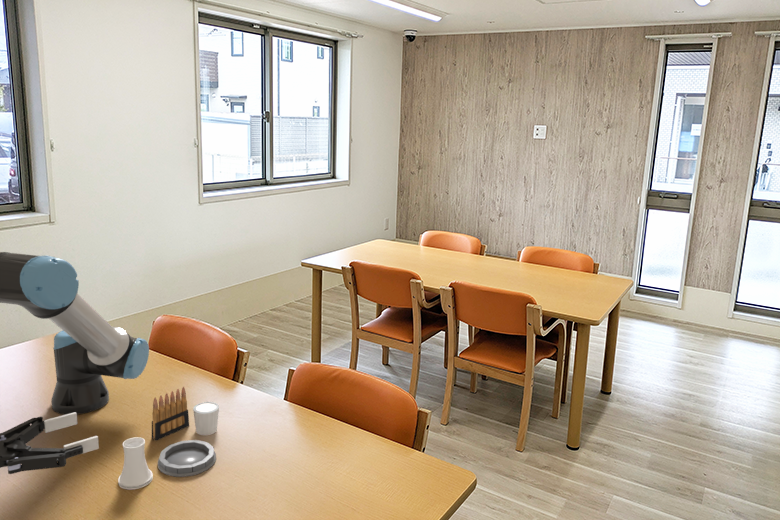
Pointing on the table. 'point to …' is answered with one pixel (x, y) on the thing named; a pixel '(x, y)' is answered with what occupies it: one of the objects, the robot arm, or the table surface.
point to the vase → (134, 465)
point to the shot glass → (206, 417)
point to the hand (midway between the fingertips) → (87, 429)
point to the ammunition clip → (169, 415)
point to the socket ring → (186, 458)
